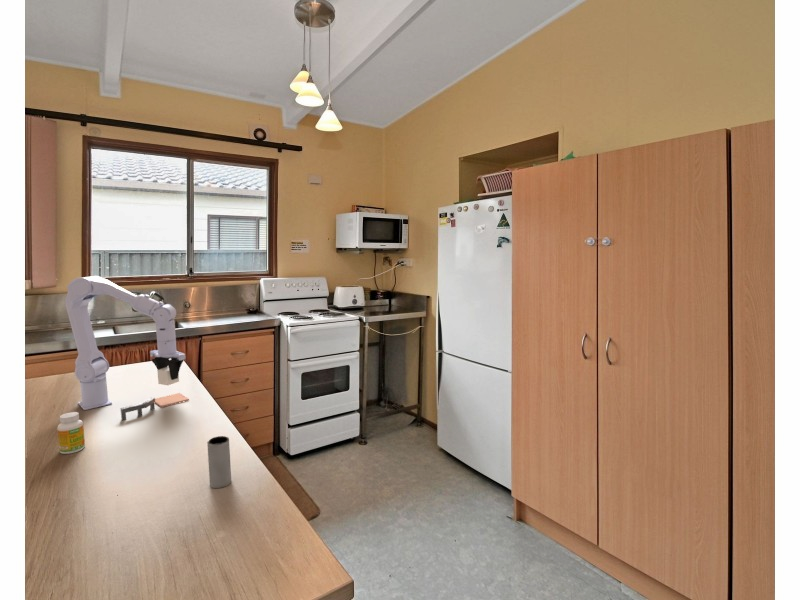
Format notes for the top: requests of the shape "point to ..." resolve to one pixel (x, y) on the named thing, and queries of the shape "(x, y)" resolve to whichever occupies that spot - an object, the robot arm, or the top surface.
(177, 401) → the terracotta tile
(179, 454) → the top surface
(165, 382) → the cream block
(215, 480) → the grey tube
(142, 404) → the bent rail
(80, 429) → the supplement bottle
